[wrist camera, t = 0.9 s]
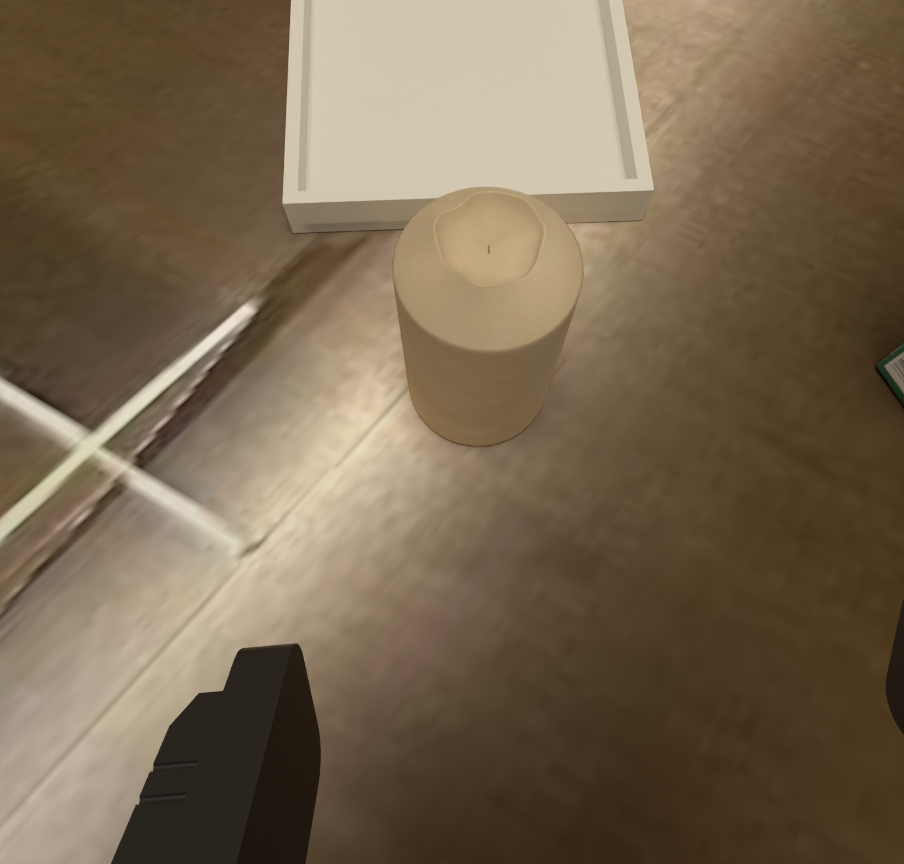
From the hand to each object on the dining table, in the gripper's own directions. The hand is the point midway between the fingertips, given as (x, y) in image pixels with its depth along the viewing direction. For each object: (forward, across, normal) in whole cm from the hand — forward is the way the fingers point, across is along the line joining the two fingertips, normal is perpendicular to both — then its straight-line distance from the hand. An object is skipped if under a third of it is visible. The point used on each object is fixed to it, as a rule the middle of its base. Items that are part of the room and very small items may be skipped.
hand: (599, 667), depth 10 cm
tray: (+31, 0, -10) cm, 32 cm away
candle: (+20, +1, +3) cm, 20 cm away
